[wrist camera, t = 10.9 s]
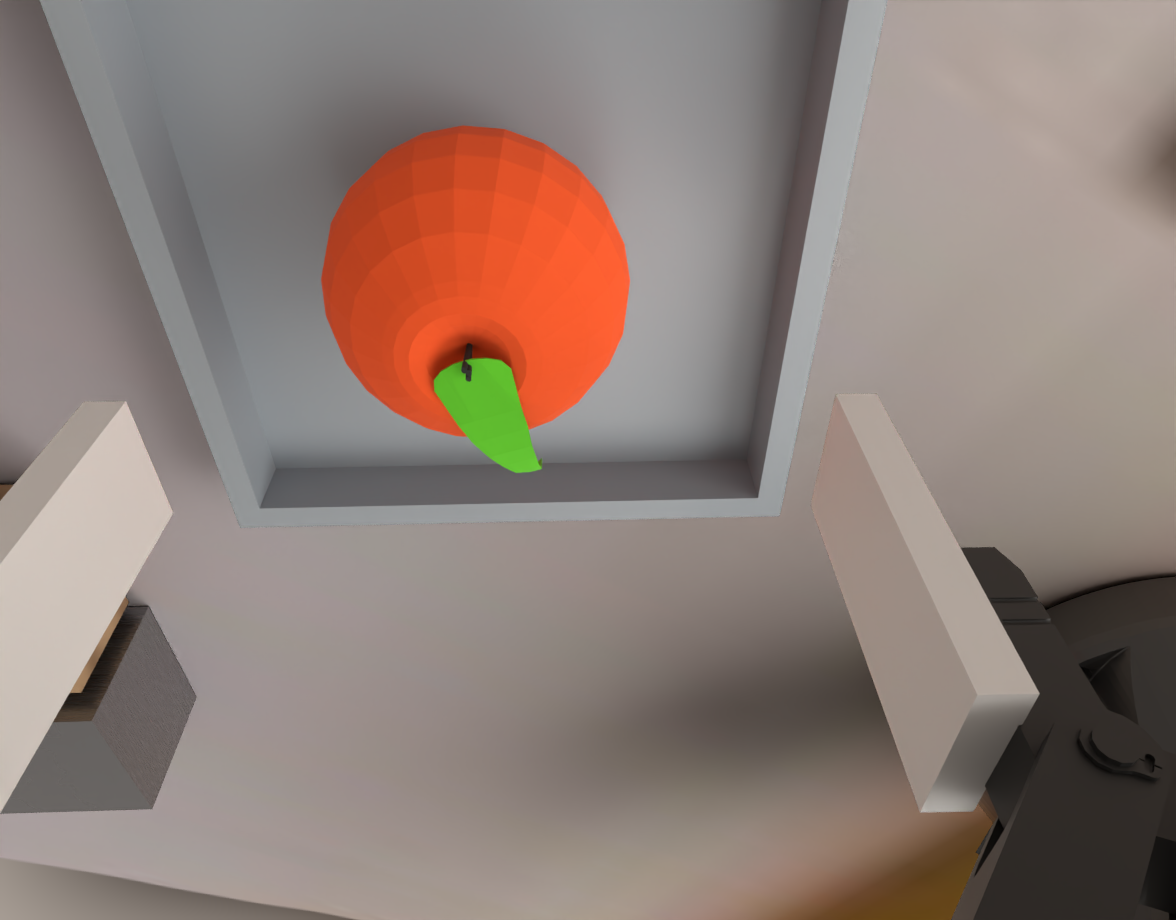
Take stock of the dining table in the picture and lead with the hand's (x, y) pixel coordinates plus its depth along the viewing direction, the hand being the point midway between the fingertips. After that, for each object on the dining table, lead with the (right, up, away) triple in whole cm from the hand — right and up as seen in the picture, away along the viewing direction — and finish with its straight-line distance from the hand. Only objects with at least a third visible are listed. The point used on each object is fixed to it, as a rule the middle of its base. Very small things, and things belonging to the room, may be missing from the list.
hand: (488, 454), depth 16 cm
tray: (-1, +6, +7) cm, 9 cm away
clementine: (-1, +6, +6) cm, 9 cm away
